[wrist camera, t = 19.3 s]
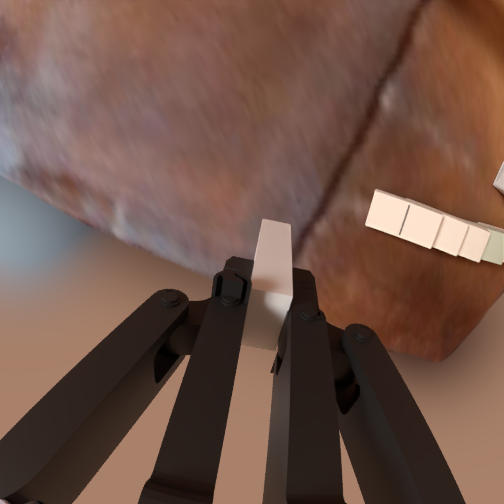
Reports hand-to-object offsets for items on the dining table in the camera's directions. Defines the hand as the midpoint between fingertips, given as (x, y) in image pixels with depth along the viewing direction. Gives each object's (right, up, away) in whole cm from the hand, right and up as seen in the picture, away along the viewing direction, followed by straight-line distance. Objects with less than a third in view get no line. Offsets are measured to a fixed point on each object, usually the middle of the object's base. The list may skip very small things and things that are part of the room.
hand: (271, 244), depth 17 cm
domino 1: (+15, +6, +22) cm, 27 cm away
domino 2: (+20, +5, +22) cm, 30 cm away
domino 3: (+25, +3, +22) cm, 33 cm away
